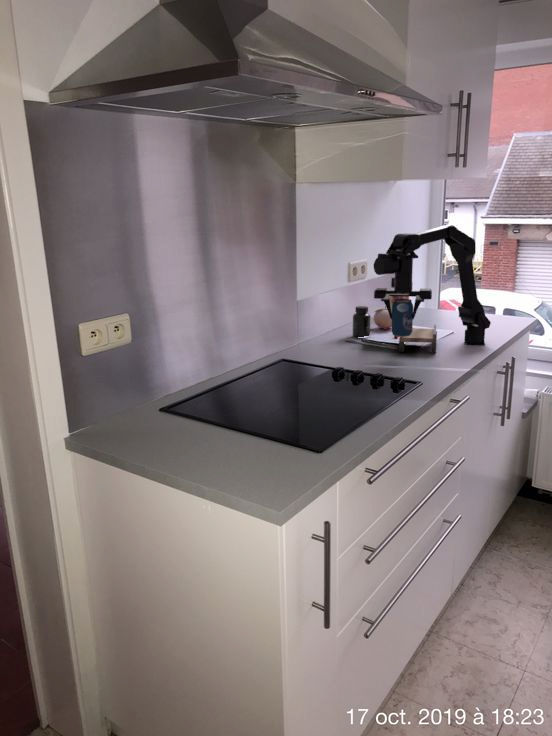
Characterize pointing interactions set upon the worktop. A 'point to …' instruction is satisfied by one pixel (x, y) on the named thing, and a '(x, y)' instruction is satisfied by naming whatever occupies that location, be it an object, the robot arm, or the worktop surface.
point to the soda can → (402, 317)
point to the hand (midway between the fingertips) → (402, 319)
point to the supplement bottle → (361, 322)
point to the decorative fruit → (382, 318)
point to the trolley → (420, 338)
